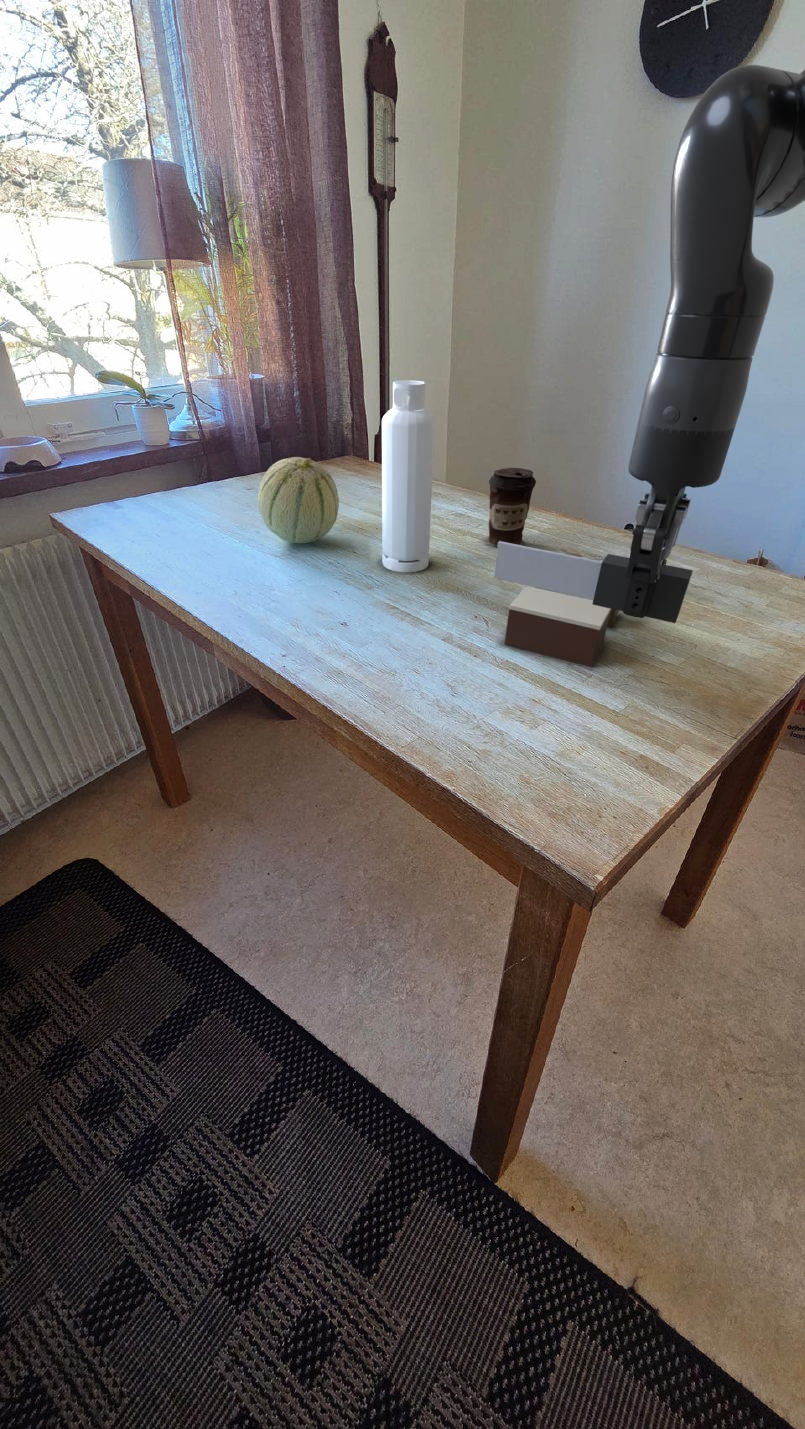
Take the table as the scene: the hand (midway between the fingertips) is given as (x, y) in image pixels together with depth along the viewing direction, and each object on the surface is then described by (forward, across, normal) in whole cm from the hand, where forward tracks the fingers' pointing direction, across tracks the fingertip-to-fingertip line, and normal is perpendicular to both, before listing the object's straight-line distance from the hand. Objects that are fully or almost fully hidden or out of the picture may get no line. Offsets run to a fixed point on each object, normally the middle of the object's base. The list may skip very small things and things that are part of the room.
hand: (637, 608), depth 60 cm
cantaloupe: (+14, +30, +64) cm, 72 cm away
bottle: (+14, +30, +42) cm, 54 cm away
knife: (0, 0, +6) cm, 6 cm away
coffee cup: (+14, +48, +30) cm, 59 cm away
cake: (+14, +15, +11) cm, 24 cm away
